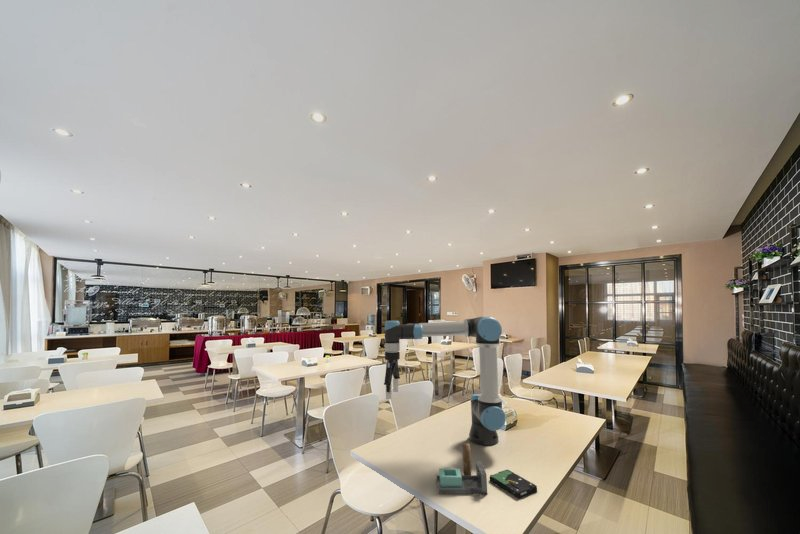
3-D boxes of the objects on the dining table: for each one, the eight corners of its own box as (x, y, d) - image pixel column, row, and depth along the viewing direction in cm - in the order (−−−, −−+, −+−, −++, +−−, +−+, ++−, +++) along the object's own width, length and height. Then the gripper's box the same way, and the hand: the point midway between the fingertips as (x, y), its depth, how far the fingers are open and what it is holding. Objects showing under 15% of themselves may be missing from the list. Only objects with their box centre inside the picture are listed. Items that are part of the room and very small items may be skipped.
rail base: (481, 480, 127) (480, 461, 128) (487, 494, 117) (486, 474, 119) (436, 480, 128) (436, 461, 129) (438, 493, 118) (438, 473, 119)
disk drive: (537, 493, 119) (507, 475, 132) (537, 485, 119) (507, 468, 132) (518, 501, 114) (489, 482, 127) (518, 492, 114) (488, 474, 127)
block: (459, 479, 126) (459, 468, 127) (462, 488, 119) (461, 477, 120) (439, 479, 127) (439, 468, 127) (441, 488, 120) (440, 477, 120)
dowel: (470, 473, 133) (469, 443, 135) (472, 477, 130) (470, 446, 132) (462, 473, 133) (461, 442, 135) (464, 477, 130) (463, 446, 132)
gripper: (391, 348, 173) (391, 389, 170) (377, 354, 149) (377, 401, 146) (404, 348, 172) (405, 389, 168) (393, 354, 148) (393, 402, 144)
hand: (392, 395), depth 157 cm, fingers open, 13 cm apart
